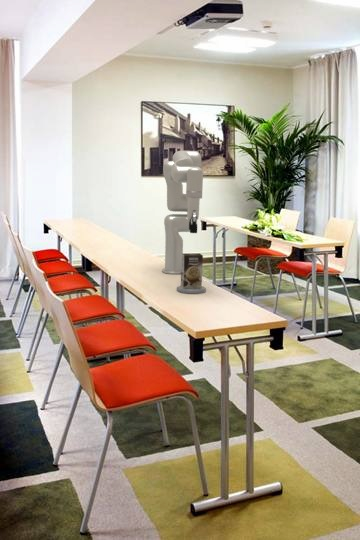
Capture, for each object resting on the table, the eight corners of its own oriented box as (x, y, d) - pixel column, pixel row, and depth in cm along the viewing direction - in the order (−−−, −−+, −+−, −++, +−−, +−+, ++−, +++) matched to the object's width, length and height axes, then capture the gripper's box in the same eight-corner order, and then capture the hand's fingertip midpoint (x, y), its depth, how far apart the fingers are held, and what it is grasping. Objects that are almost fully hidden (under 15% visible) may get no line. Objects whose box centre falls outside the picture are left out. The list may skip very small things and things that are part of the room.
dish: (176, 287, 301) (176, 284, 300) (204, 287, 301) (204, 284, 301) (177, 293, 287) (177, 290, 287) (207, 294, 288) (207, 291, 287)
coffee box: (183, 289, 290) (184, 255, 287) (180, 286, 296) (181, 253, 293) (202, 288, 292) (203, 255, 289) (198, 285, 298) (199, 252, 295)
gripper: (185, 193, 294) (184, 228, 297) (187, 196, 277) (185, 234, 280) (200, 193, 294) (199, 229, 298) (203, 196, 277) (202, 234, 281)
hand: (192, 231), depth 289 cm, fingers open, 9 cm apart
